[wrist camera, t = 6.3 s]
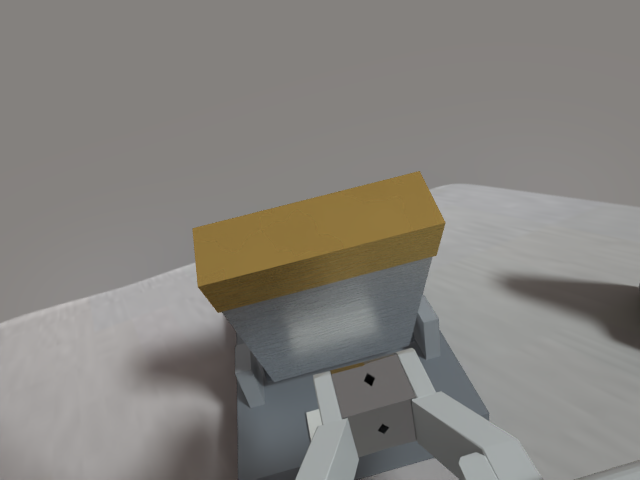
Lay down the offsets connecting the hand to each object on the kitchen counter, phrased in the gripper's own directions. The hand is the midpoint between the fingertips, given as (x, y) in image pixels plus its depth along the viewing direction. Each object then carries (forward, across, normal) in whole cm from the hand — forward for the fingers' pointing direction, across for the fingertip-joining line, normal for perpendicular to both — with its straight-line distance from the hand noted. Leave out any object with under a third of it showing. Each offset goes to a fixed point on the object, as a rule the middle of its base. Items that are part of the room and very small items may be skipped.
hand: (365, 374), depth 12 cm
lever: (+12, 0, +11) cm, 16 cm away
